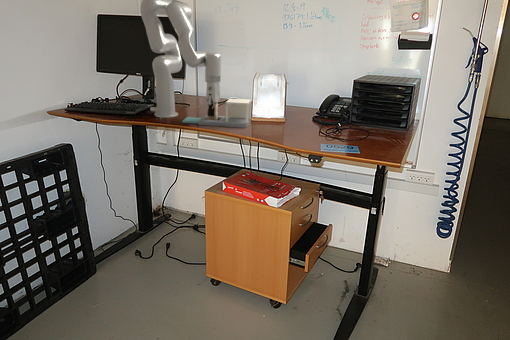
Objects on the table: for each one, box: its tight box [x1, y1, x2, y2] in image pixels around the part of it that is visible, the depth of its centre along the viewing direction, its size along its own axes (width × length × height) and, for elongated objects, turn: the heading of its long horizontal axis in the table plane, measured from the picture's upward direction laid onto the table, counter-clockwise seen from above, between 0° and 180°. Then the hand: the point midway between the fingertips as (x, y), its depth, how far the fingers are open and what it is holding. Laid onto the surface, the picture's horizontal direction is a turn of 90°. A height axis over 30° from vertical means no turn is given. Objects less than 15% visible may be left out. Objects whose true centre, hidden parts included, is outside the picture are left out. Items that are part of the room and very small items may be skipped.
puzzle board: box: [198, 114, 251, 129], centre depth 195 cm, size 24×14×2 cm, turn 82°
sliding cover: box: [225, 98, 252, 123], centre depth 192 cm, size 11×10×10 cm
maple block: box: [206, 102, 219, 120], centre depth 195 cm, size 4×4×8 cm
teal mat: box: [181, 116, 203, 125], centre depth 198 cm, size 9×9×1 cm
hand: (212, 114), depth 195 cm, fingers closed on maple block, 4 cm apart
